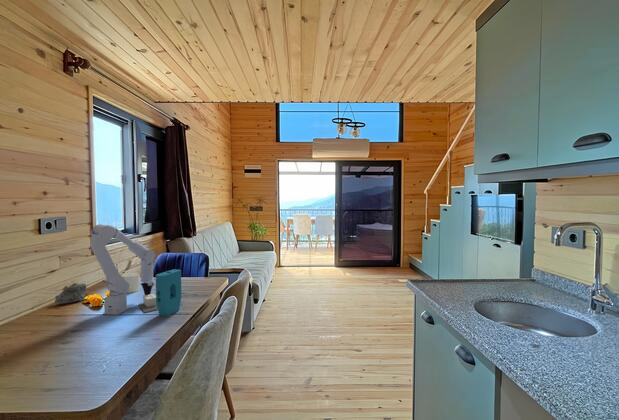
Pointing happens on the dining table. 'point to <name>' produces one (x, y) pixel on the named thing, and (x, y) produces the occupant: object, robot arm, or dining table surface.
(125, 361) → the dining table surface
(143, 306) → the mat
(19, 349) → the dining table surface
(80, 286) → the mineral rock
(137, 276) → the white cup
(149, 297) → the block
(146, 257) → the robot arm
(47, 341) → the dining table surface
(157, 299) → the block
